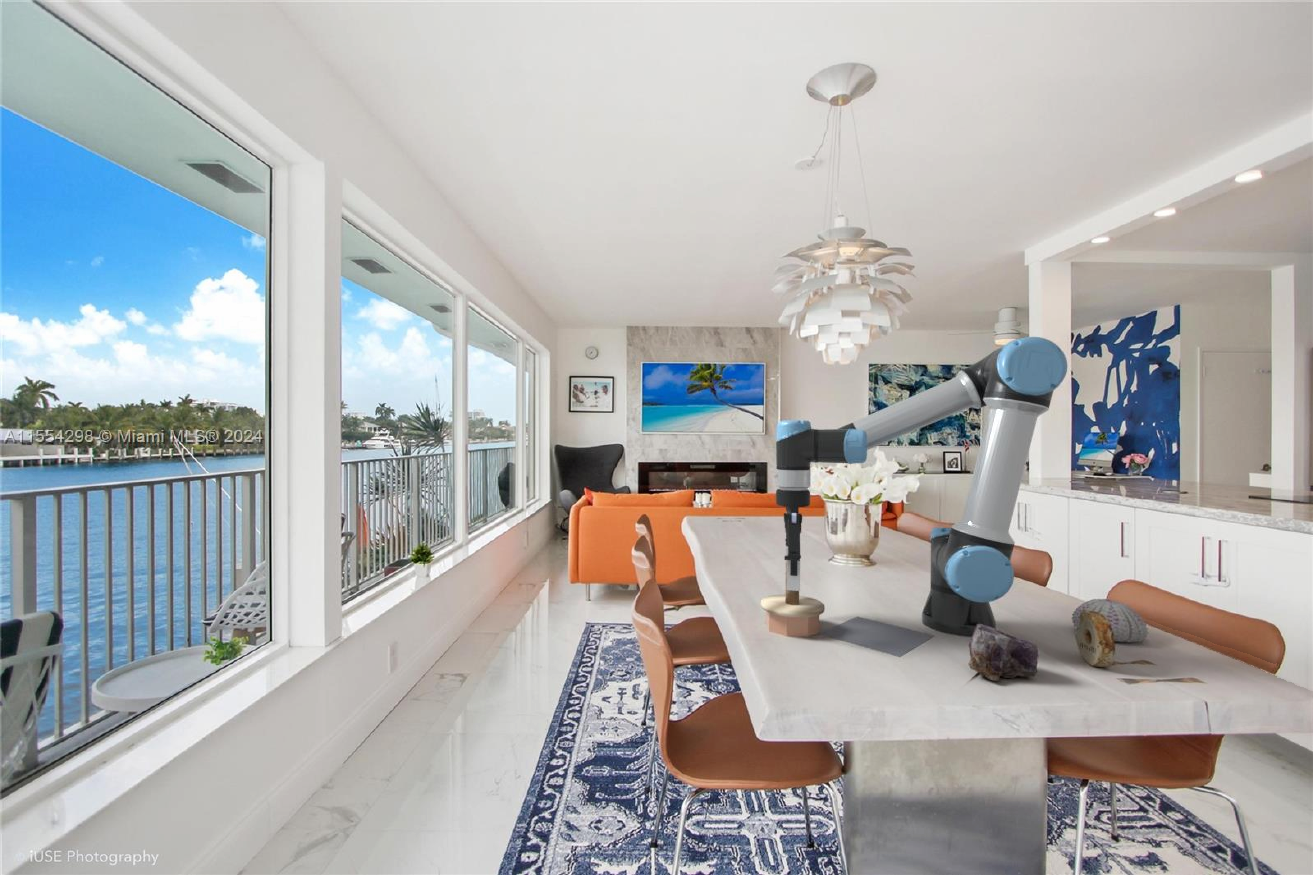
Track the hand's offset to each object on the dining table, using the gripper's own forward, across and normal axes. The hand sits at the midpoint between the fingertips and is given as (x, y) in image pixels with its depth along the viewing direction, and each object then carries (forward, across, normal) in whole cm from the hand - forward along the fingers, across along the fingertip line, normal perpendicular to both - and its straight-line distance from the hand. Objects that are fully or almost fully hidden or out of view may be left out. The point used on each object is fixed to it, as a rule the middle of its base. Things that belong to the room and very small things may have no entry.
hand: (792, 582), depth 129 cm
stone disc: (+11, +7, +57) cm, 59 cm away
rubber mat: (+11, 0, +18) cm, 21 cm away
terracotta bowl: (+11, 0, 0) cm, 11 cm away
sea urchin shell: (+11, -12, +69) cm, 71 cm away
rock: (+11, +16, +36) cm, 41 cm away
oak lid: (+6, 0, 0) cm, 6 cm away
